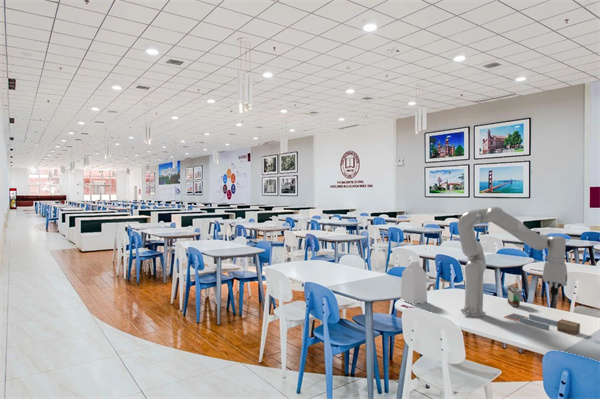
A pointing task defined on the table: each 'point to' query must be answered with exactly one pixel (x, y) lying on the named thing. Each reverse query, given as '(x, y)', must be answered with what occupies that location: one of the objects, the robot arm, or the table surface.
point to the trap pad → (514, 317)
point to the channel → (538, 324)
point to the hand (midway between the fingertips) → (554, 294)
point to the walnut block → (568, 327)
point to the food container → (514, 296)
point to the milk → (414, 284)
